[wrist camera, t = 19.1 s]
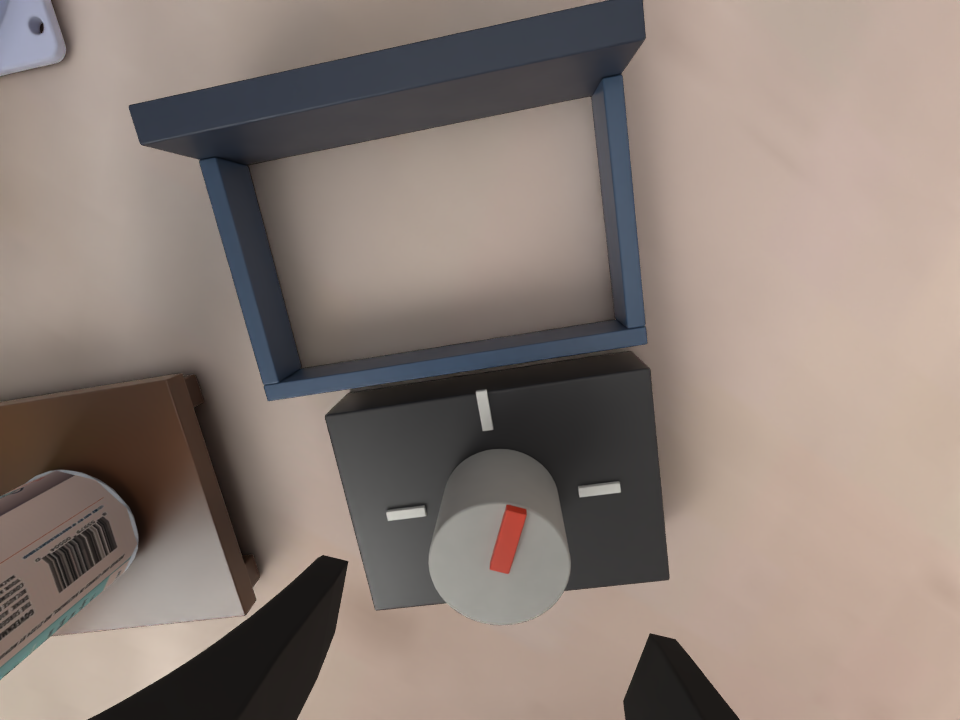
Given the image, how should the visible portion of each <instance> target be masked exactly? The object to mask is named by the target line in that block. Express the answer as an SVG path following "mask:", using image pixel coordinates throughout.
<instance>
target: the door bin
mask: <svg viewBox="0 0 960 720" xmlns="http://www.w3.org/2000/svg"><path fill="white" fill-rule="evenodd" d="M645 38H646V34H645V21H644V9H643V0H607V1H603V2H598V3H594V4H589V5H584V6H580V7H575V8H571V9H566V10H562V11H557V12H553V13H548V14H543V15H539V16H534V17H530V18H525V19H521V20H516V21H511V22H507V23H502V24H498V25H493V26H489V27H484V28H480V29H475V30H470V31H466V32H461V33H457V34H452V35H448V36H443V37H438V38H434V39H429V40H425V41H420V42H416V43H411V44H407V45H402V46H397V47H393V48H388V49H384V50H379V51H375V52H370V53H365V54H361V55H356V56H352V57H347V58H343V59H338V60H334V61H329V62H324V63H320V64H315V65H311V66H306V67H302V68H297V69H293V70H288V71H283V72H279V73H274V74H270V75H265V76H261V77H256V78H251V79H247V80H242V81H238V82H233V83H229V84H224V85H220V86H215V87H210V88H206V89H201V90H197V91H192V92H188V93H183V94H178V95H174V96H169V97H165V98H160V99H156V100H151V101H147V102H142V103H137V104H133V105H129V110H130V113H131V117H132V120H133V123H134V126H135V129H136V133H137V136H138V139H139V142H140V144H141V145H143V146H147V147H151V148H155V149H159V150H163V151H167V152H171V153H175V154H179V155H183V156H187V157H191V158H195V159H199V160H200V161H199V163H200V167H201V170H202V174H203V177H204V180H205V184H206V187H207V191H208V194H209V198H210V201H211V205H212V208H213V212H214V215H215V219H216V222H217V226H218V229H219V233H220V236H221V240H222V243H223V246H224V250H225V253H226V257H227V260H228V264H229V267H230V271H231V274H232V278H233V281H234V285H235V288H236V292H237V295H238V299H239V302H240V306H241V309H242V313H243V316H244V319H245V323H246V326H247V330H248V333H249V337H250V340H251V344H252V347H253V351H254V354H255V358H256V361H257V365H258V368H259V372H260V375H261V379H262V382H263V384H264V389H265V393H266V396H267V400H268V401H273V400H280V399H286V398H293V397H300V396H306V395H313V394H320V393H326V392H333V391H340V390H346V389H353V388H359V387H366V386H373V385H379V384H386V383H393V382H399V381H406V380H413V379H419V378H426V377H432V376H439V375H446V374H452V373H459V372H466V371H472V370H479V369H486V368H492V367H499V366H505V365H512V364H519V363H525V362H532V361H539V360H545V359H552V358H559V357H565V356H572V355H579V354H585V353H592V352H598V351H605V350H612V349H618V348H625V347H632V346H638V345H645V344H647V332H646V327H645V324H646V323H645V313H644V302H643V291H642V280H641V269H640V258H639V248H638V237H637V226H636V215H635V204H634V193H633V183H632V172H631V161H630V150H629V139H628V128H627V118H626V107H625V96H624V85H623V76H622V75H621V74H622V72H623V71H624V69H625V68H626V66H627V65H628V63H629V62H630V61H631V59H632V58H633V56H634V55H635V53H636V52H637V50H638V49H639V48H640V46H641V45H642V43H643V42H644V40H645ZM588 96H592V98H591V99H592V108H593V117H594V127H595V136H596V145H597V155H598V164H599V173H600V183H601V192H602V201H603V211H604V220H605V229H606V239H607V248H608V258H609V267H610V276H611V286H612V295H613V304H614V314H615V320H609V321H602V322H596V323H590V324H583V325H577V326H571V327H564V328H558V329H551V330H545V331H539V332H532V333H526V334H519V335H513V336H507V337H500V338H494V339H487V340H481V341H475V342H468V343H462V344H455V345H449V346H443V347H436V348H430V349H423V350H417V351H411V352H404V353H398V354H391V355H385V356H379V357H372V358H366V359H360V360H353V361H347V362H340V363H334V364H328V365H321V366H315V367H308V368H302V369H301V363H300V360H299V356H298V352H297V348H296V345H295V341H294V337H293V333H292V330H291V326H290V322H289V318H288V315H287V311H286V307H285V303H284V299H283V296H282V292H281V288H280V284H279V281H278V277H277V273H276V269H275V266H274V262H273V258H272V254H271V251H270V247H269V243H268V239H267V236H266V232H265V228H264V224H263V221H262V217H261V213H260V209H259V206H258V202H257V198H256V194H255V191H254V187H253V183H252V179H251V176H250V172H249V168H248V166H247V165H250V164H255V163H260V162H265V161H270V160H275V159H280V158H285V157H290V156H295V155H300V154H305V153H310V152H315V151H320V150H325V149H330V148H335V147H340V146H345V145H350V144H355V143H360V142H365V141H369V140H374V139H379V138H384V137H389V136H394V135H399V134H404V133H409V132H414V131H419V130H424V129H429V128H434V127H439V126H444V125H449V124H454V123H459V122H464V121H469V120H474V119H479V118H484V117H489V116H494V115H499V114H504V113H509V112H514V111H519V110H524V109H529V108H534V107H539V106H543V105H548V104H553V103H558V102H563V101H568V100H573V99H578V98H583V97H588Z"/></svg>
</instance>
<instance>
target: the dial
mask: <svg viewBox="0 0 960 720" xmlns="http://www.w3.org/2000/svg"><path fill="white" fill-rule="evenodd" d="M428 564H429V572H430V575H431V579H432V581H433V584H434V586H435V588H436V590H437V591H438V593H439V595H440V596H441V597H442V598H443V600H444V601H445V602H446V603H447V604H448V605H449V606H450V607H451V608H453V609H454V610H456V611H457V612H458V613H460V614H462V615H463V616H465V617H467V618H470V619H472V620H474V621H478V622H481V623H485V624H491V625H512V624H519V623H522V622H526V621H529V620H531V619H534V618H536V617H538V616H540V615H542V614H543V613H544V612H546V611H547V610H549V609H550V608H551V607H552V606H553V605H554V604H555V603H556V602H557V601H558V599H559V598H560V597H561V595H562V594H563V592H564V590H565V588H566V586H567V583H568V580H569V576H570V570H571V560H570V553H569V548H568V543H567V537H566V532H565V527H564V522H563V516H562V511H561V506H560V501H559V495H558V491H557V487H556V484H555V482H554V480H553V478H552V476H551V475H550V473H549V472H548V471H547V470H546V468H545V467H544V466H543V465H542V464H540V463H539V462H538V461H537V460H535V459H533V458H532V457H530V456H528V455H526V454H524V453H521V452H518V451H514V450H509V449H491V450H486V451H482V452H479V453H477V454H474V455H472V456H470V457H469V458H467V459H465V460H464V461H463V462H462V463H460V464H459V465H458V466H457V467H456V468H455V470H454V471H453V472H452V474H451V475H450V477H449V479H448V481H447V484H446V487H445V491H444V494H443V498H442V502H441V506H440V510H439V514H438V518H437V522H436V526H435V530H434V534H433V538H432V542H431V546H430V550H429V561H428Z"/></svg>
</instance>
